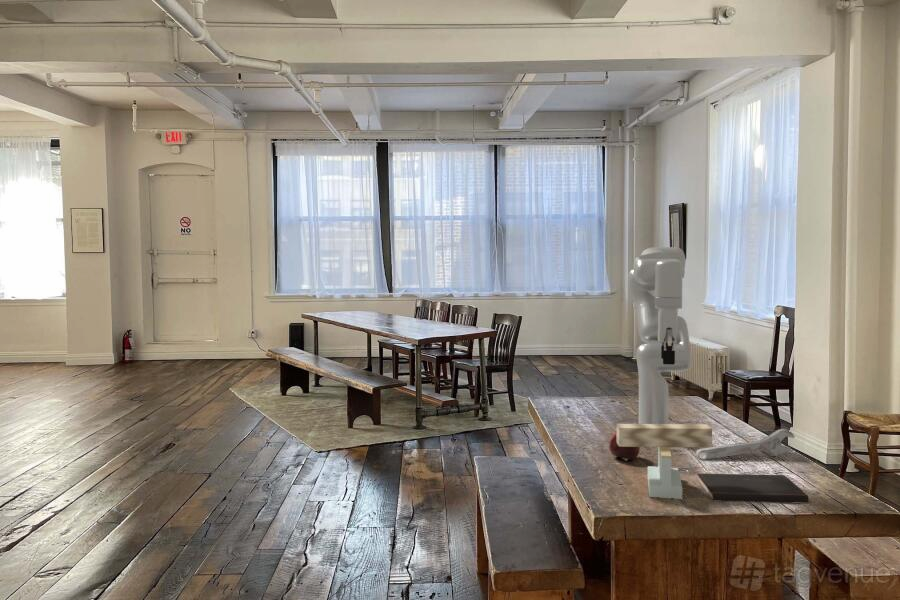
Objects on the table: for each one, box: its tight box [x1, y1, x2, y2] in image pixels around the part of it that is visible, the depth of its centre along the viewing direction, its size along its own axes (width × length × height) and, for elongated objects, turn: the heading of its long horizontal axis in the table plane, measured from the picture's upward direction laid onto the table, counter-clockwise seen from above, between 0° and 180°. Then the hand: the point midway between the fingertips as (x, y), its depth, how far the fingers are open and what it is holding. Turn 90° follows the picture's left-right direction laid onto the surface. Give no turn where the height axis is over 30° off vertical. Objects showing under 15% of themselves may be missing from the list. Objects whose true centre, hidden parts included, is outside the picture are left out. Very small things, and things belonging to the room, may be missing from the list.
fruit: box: [608, 432, 641, 462], centre depth 211 cm, size 9×10×10 cm
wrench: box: [695, 428, 795, 460], centre depth 210 cm, size 8×2×30 cm
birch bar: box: [616, 423, 713, 448], centre depth 187 cm, size 24×4×5 cm, turn 86°
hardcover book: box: [696, 472, 809, 503], centre depth 182 cm, size 16×23×2 cm
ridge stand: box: [647, 447, 683, 500], centre depth 185 cm, size 16×8×11 cm, turn 166°
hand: (667, 361), depth 204 cm, fingers open, 9 cm apart
